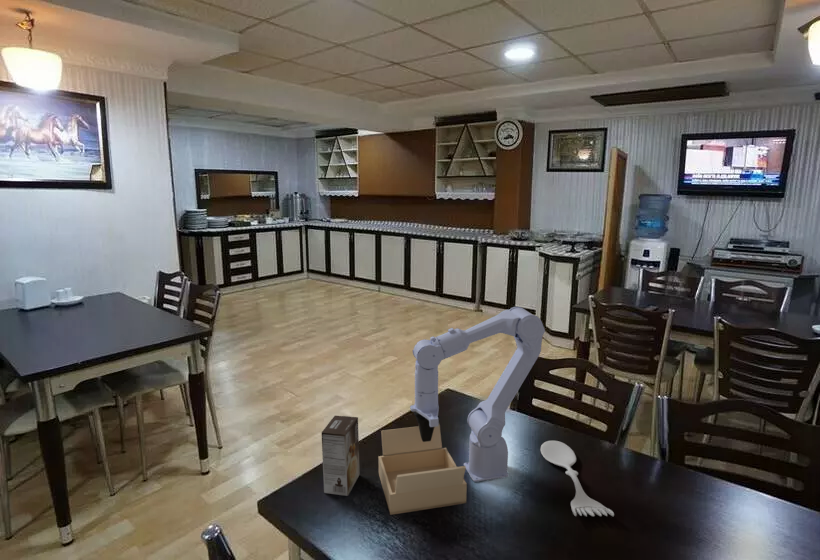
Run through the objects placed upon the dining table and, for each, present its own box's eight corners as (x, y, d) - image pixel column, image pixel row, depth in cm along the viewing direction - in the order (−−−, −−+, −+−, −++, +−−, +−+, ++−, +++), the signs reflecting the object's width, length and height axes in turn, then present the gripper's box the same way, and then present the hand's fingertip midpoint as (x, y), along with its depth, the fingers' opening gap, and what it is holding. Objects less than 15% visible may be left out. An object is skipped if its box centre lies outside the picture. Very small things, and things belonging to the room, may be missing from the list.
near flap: (395, 491, 105) (395, 493, 104) (396, 475, 101) (397, 477, 101) (461, 482, 108) (462, 484, 108) (465, 465, 105) (465, 467, 105)
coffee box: (336, 471, 121) (334, 414, 119) (360, 474, 120) (358, 416, 117) (323, 493, 113) (320, 431, 110) (348, 497, 111) (346, 434, 108)
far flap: (441, 447, 123) (441, 447, 123) (439, 424, 124) (439, 424, 125) (383, 455, 119) (382, 455, 120) (381, 430, 121) (381, 430, 121)
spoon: (573, 526, 102) (574, 512, 101) (536, 448, 133) (536, 437, 133) (615, 527, 102) (616, 512, 101) (568, 448, 133) (568, 437, 132)
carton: (445, 465, 124) (445, 447, 123) (466, 503, 109) (466, 483, 108) (378, 474, 120) (378, 456, 119) (390, 514, 105) (390, 494, 104)
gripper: (404, 379, 121) (404, 428, 123) (417, 403, 107) (417, 457, 109) (430, 376, 122) (430, 425, 125) (447, 400, 109) (446, 453, 111)
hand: (426, 440), depth 117 cm, fingers closed
